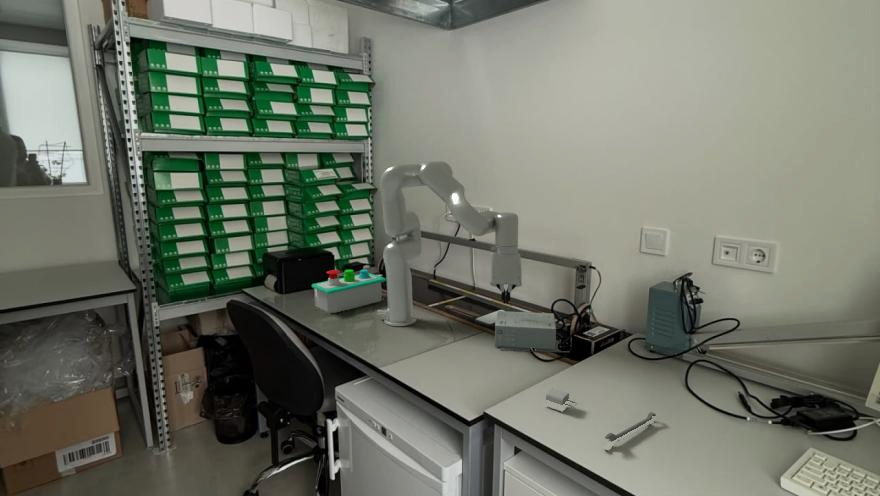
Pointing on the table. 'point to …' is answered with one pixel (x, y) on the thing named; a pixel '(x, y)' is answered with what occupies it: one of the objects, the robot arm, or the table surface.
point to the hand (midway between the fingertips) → (505, 302)
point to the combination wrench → (614, 437)
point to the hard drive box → (525, 330)
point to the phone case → (488, 319)
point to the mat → (529, 349)
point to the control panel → (348, 291)
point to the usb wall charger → (558, 396)
